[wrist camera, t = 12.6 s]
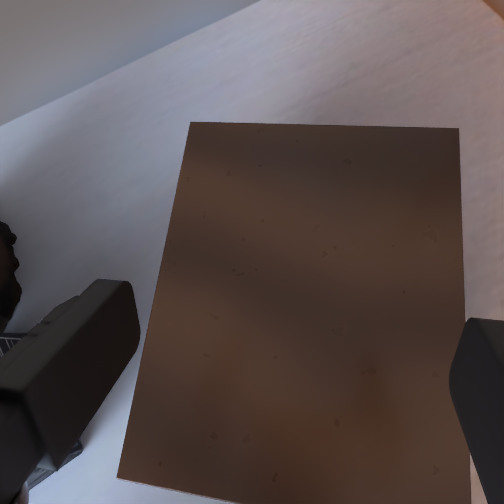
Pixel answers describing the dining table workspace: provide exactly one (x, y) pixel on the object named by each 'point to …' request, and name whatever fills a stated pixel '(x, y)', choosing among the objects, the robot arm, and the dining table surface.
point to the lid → (306, 320)
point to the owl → (7, 276)
